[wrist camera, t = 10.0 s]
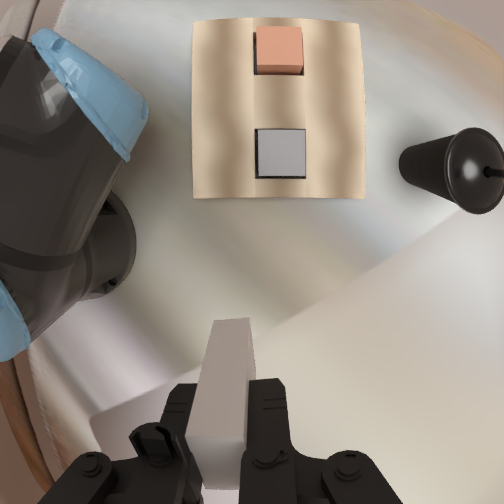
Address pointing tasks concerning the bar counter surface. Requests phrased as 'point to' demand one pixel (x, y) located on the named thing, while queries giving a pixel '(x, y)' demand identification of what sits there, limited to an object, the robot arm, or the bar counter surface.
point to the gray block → (281, 152)
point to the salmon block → (279, 50)
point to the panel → (277, 110)
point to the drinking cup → (458, 169)
